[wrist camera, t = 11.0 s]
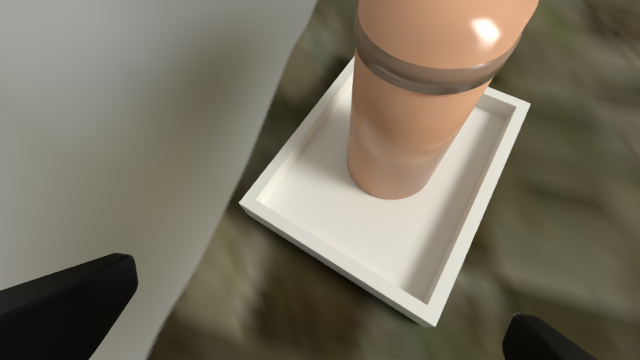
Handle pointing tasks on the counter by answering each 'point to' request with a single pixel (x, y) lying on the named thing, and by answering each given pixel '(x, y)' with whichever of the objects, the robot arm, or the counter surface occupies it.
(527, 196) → the counter surface
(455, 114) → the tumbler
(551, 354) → the robot arm
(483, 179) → the tray
